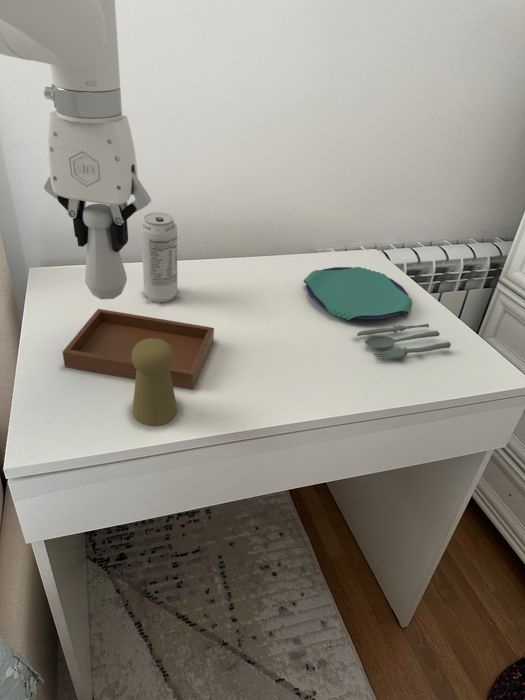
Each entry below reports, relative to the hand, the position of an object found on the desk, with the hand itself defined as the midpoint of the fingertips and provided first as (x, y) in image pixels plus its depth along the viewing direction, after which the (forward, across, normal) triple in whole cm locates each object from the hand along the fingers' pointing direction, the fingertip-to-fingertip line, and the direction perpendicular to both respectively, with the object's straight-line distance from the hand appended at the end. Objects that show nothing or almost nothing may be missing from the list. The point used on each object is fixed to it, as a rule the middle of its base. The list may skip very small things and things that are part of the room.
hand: (102, 244), depth 74 cm
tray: (+18, +5, 0) cm, 18 cm away
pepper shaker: (+18, +11, -12) cm, 24 cm away
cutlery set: (+18, +40, +24) cm, 50 cm away
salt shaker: (+8, 0, 0) cm, 8 cm away
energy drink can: (+18, +2, +18) cm, 25 cm away
